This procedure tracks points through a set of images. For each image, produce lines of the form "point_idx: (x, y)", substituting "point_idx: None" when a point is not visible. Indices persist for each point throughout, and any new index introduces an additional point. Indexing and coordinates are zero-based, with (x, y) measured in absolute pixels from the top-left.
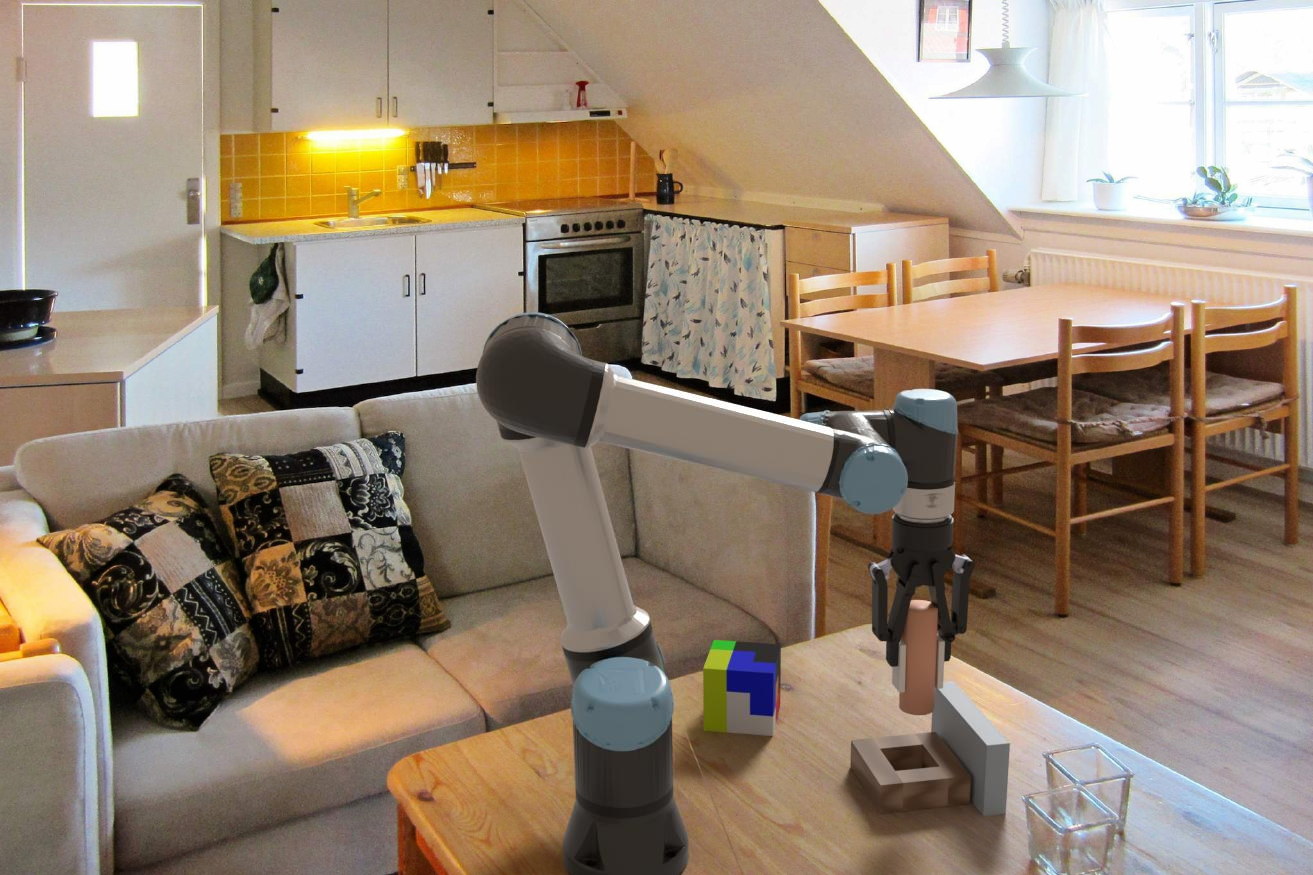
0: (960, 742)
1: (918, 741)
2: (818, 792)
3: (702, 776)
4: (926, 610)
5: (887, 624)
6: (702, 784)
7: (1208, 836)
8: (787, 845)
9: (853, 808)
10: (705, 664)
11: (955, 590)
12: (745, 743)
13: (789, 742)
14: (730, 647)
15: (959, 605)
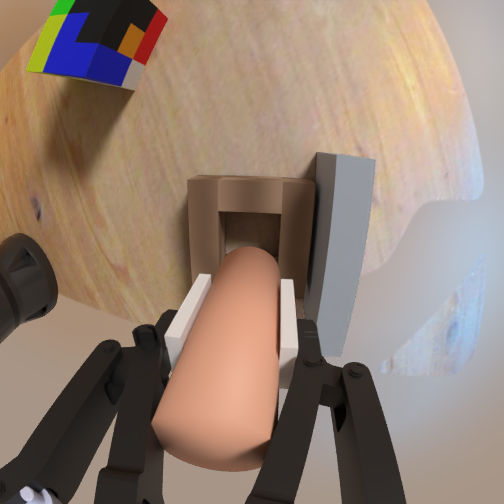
0: (317, 263)
1: (279, 204)
2: (151, 219)
3: (62, 169)
4: (223, 463)
5: (131, 362)
6: (61, 184)
7: (441, 350)
8: (116, 294)
9: (179, 256)
10: (30, 60)
11: (352, 489)
12: (105, 104)
13: (148, 103)
14: (69, 5)
15: (339, 468)
